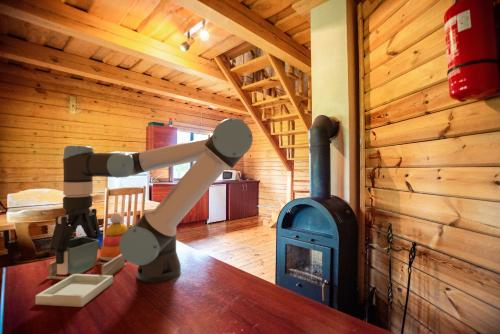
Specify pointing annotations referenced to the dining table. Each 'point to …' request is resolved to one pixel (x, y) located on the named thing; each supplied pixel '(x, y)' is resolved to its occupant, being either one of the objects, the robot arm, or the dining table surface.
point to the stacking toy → (113, 238)
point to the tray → (74, 290)
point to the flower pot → (81, 254)
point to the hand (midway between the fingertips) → (77, 265)
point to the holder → (107, 267)
